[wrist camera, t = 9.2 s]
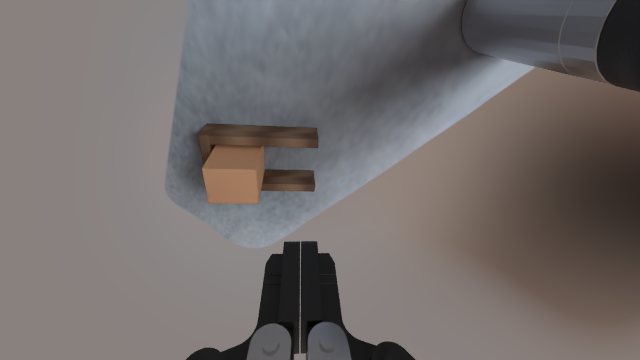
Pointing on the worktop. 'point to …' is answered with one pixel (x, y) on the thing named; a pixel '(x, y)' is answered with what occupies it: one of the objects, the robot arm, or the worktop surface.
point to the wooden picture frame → (265, 137)
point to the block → (234, 174)
